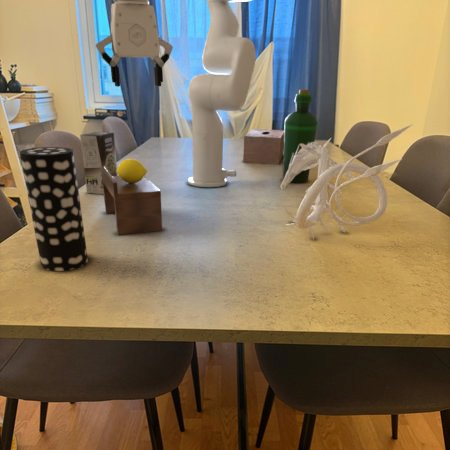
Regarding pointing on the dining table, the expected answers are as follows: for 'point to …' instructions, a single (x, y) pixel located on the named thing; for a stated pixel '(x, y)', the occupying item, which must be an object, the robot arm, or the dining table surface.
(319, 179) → the serpentine dragon sculpture
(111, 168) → the coffee box
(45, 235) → the spotted tube
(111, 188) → the shelf
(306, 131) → the bottle
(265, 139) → the tissue box cover
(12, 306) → the dining table surface
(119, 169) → the lemon
